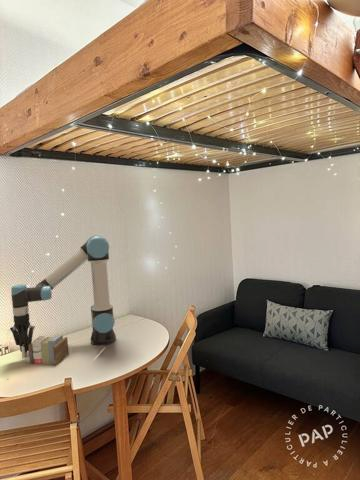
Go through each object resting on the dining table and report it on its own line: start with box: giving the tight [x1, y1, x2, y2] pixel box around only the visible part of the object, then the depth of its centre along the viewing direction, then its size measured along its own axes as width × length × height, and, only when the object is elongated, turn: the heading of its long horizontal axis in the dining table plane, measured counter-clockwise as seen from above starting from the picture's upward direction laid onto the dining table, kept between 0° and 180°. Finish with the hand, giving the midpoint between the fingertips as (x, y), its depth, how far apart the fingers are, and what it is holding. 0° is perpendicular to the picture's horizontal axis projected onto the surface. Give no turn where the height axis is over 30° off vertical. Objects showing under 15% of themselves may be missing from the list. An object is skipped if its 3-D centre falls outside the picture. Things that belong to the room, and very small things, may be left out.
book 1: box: [41, 336, 54, 365], centre depth 174 cm, size 4×8×11 cm, turn 173°
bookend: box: [29, 348, 34, 365], centre depth 176 cm, size 2×9×7 cm, turn 173°
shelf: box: [27, 336, 70, 366], centre depth 176 cm, size 23×13×11 cm, turn 83°
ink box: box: [32, 335, 50, 365], centre depth 175 cm, size 9×5×12 cm, turn 174°
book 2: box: [48, 334, 64, 365], centre depth 174 cm, size 4×9×12 cm, turn 173°
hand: (25, 357), depth 176 cm, fingers closed
